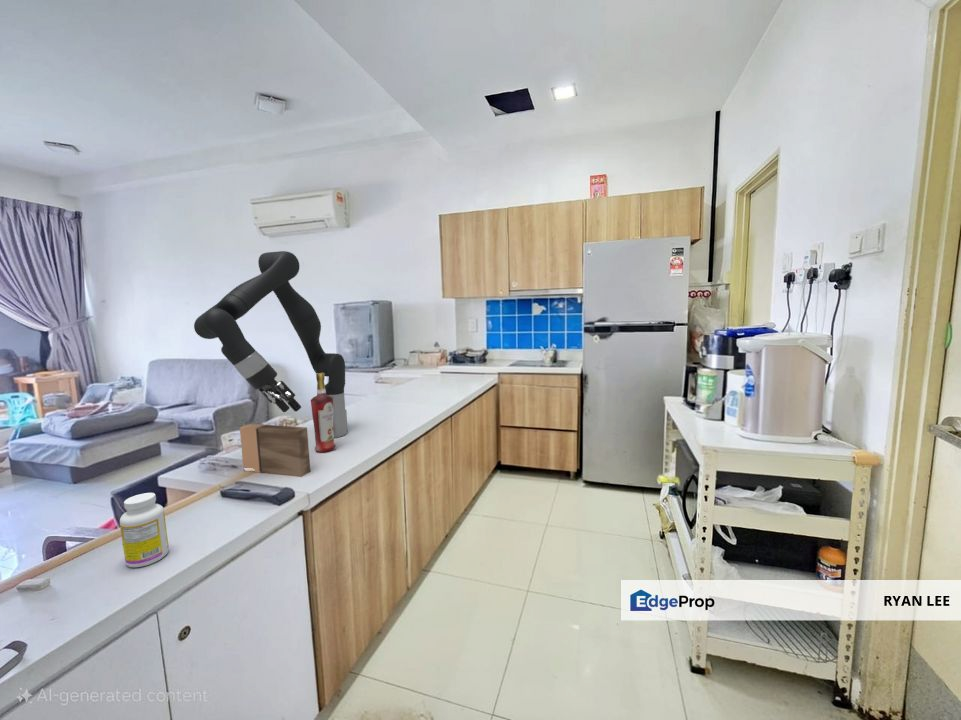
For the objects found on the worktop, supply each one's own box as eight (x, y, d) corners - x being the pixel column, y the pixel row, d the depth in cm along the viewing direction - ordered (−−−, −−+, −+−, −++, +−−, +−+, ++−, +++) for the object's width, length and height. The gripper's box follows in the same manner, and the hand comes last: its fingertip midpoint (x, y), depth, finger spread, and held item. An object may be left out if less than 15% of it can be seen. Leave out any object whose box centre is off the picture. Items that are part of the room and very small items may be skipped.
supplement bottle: (143, 549, 80) (135, 491, 79) (177, 547, 81) (170, 489, 79) (116, 570, 74) (107, 507, 72) (152, 568, 74) (144, 505, 73)
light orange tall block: (254, 466, 124) (250, 423, 122) (269, 467, 122) (266, 424, 121) (243, 471, 120) (239, 427, 118) (259, 472, 119) (255, 428, 117)
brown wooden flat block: (271, 468, 122) (267, 424, 121) (310, 472, 119) (307, 427, 117) (260, 473, 118) (256, 428, 117) (301, 477, 115) (297, 431, 113)
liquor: (327, 445, 143) (322, 371, 140) (340, 449, 139) (335, 372, 136) (309, 452, 137) (304, 374, 133) (323, 455, 133) (317, 375, 130)
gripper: (275, 359, 111) (312, 400, 117) (257, 364, 120) (292, 402, 127) (253, 375, 106) (293, 418, 113) (236, 379, 115) (273, 418, 122)
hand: (292, 410), depth 120 cm, fingers open, 8 cm apart
